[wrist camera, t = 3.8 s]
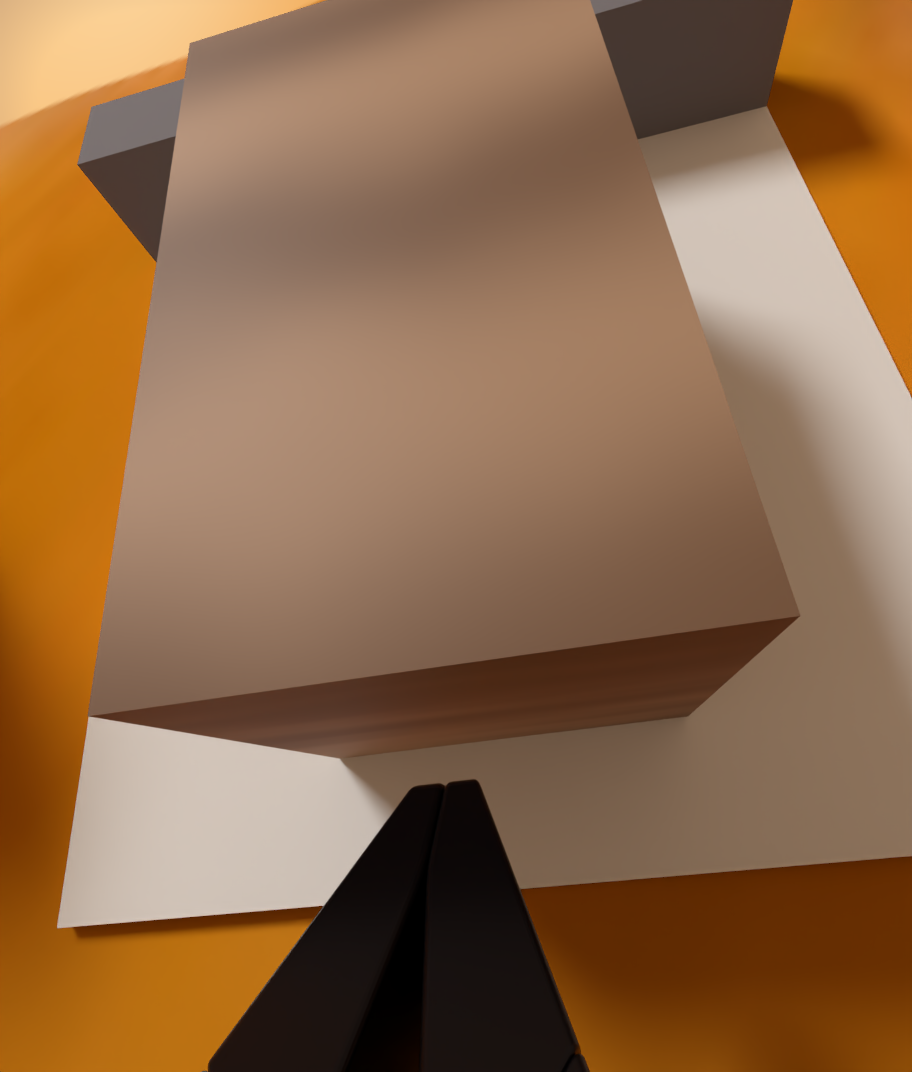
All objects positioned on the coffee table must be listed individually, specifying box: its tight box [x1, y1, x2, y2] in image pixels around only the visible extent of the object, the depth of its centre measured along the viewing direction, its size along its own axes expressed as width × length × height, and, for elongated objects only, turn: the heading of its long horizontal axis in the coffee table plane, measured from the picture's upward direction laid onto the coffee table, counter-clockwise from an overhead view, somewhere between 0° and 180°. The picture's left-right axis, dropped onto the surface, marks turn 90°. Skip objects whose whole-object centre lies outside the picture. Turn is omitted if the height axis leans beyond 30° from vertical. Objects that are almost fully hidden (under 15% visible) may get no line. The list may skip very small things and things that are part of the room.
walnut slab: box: [88, 0, 800, 759], centre depth 13 cm, size 14×8×8 cm, turn 6°
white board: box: [57, 0, 912, 928], centre depth 16 cm, size 25×22×4 cm
